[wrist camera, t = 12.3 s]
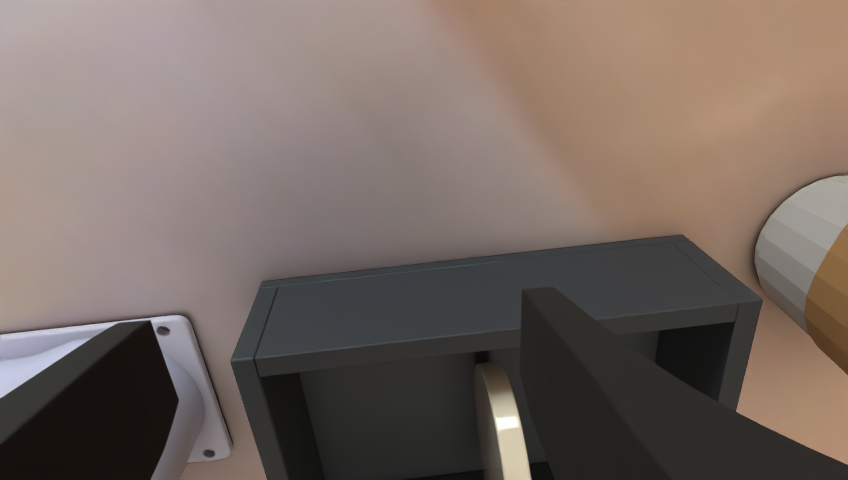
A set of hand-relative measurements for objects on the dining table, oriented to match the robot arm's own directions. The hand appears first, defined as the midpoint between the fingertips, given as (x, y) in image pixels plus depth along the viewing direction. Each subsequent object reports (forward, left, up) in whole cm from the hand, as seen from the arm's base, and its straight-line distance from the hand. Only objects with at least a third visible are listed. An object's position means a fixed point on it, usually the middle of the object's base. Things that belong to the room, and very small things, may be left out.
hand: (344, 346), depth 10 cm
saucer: (+4, -10, -10) cm, 15 cm away
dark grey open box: (+4, -10, -10) cm, 15 cm away
